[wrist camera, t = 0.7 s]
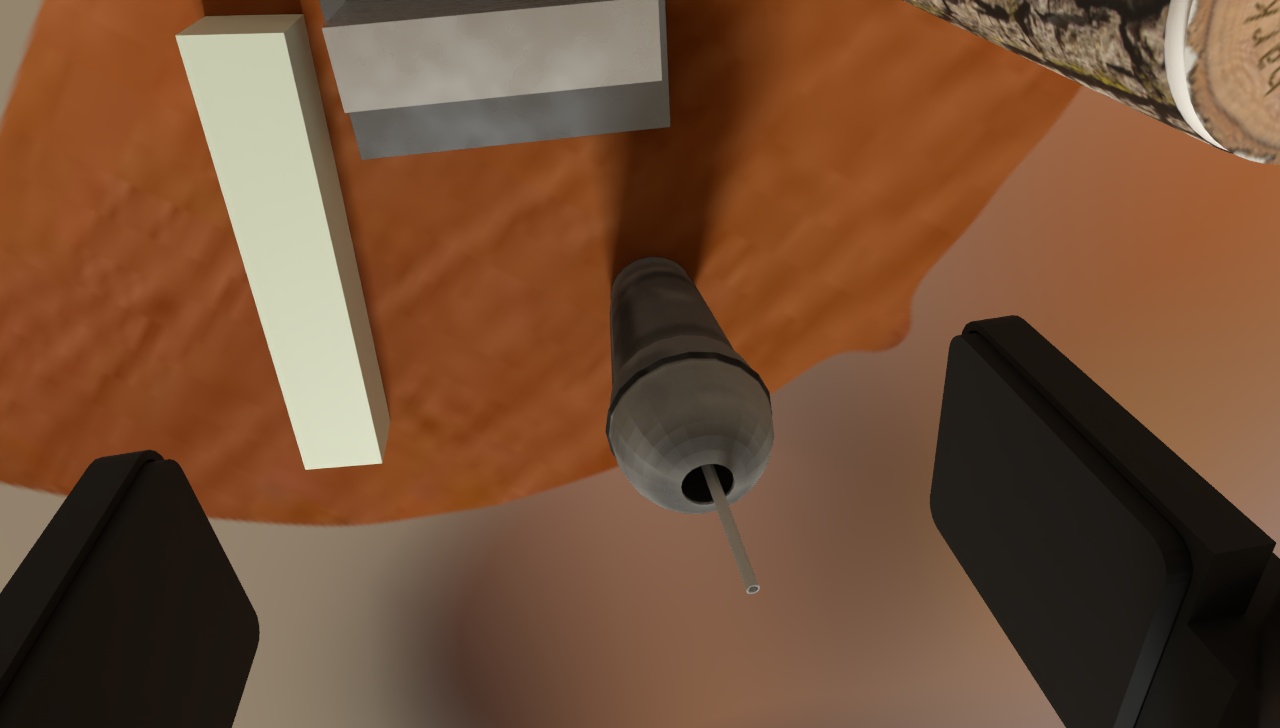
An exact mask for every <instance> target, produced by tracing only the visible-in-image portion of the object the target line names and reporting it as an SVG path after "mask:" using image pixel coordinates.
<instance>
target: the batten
mask: <svg viewBox="0 0 1280 728" xmlns="http://www.w3.org/2000/svg"><path fill="white" fill-rule="evenodd" d="M175 36H176V39H177V43H178V46H179V49H180V53H181V56H182V59H183V63H184V66H185V69H186V73H187V76H188V79H189V83H190V86H191V89H192V93H193V96H194V99H195V103H196V106H197V109H198V113H199V116H200V119H201V123H202V126H203V129H204V133H205V136H206V139H207V143H208V146H209V149H210V153H211V156H212V159H213V163H214V166H215V169H216V173H217V176H218V180H219V183H220V186H221V190H222V193H223V196H224V200H225V203H226V206H227V210H228V213H229V216H230V220H231V223H232V226H233V230H234V233H235V236H236V240H237V243H238V246H239V250H240V253H241V256H242V260H243V263H244V266H245V270H246V273H247V276H248V280H249V283H250V286H251V290H252V293H253V296H254V300H255V303H256V306H257V310H258V313H259V316H260V320H261V323H262V326H263V330H264V333H265V336H266V340H267V343H268V346H269V350H270V353H271V356H272V360H273V363H274V366H275V370H276V373H277V376H278V380H279V383H280V386H281V390H282V393H283V396H284V400H285V403H286V406H287V410H288V413H289V416H290V420H291V423H292V426H293V430H294V433H295V436H296V440H297V443H298V446H299V450H300V453H301V456H302V460H303V463H304V466H305V470H307V469H319V468H331V467H343V466H355V465H367V464H379V463H382V462H383V457H384V452H385V447H386V442H387V436H388V431H389V426H390V417H389V412H388V408H387V403H386V398H385V394H384V389H383V384H382V380H381V375H380V370H379V366H378V361H377V356H376V352H375V347H374V342H373V337H372V333H371V328H370V323H369V319H368V314H367V309H366V305H365V300H364V295H363V291H362V286H361V281H360V277H359V272H358V267H357V263H356V258H355V253H354V248H353V244H352V239H351V234H350V230H349V225H348V220H347V216H346V211H345V206H344V202H343V197H342V192H341V188H340V183H339V178H338V174H337V169H336V164H335V159H334V155H333V150H332V145H331V141H330V136H329V131H328V127H327V122H326V117H325V113H324V108H323V103H322V99H321V94H320V89H319V85H318V80H317V75H316V70H315V66H314V61H313V56H312V52H311V47H310V42H309V38H308V33H307V28H306V24H305V19H304V14H281V15H236V16H204V17H203V18H201V19H200V20H198V21H197V22H195V23H194V24H192V25H191V26H189V27H188V28H186V29H185V30H183V31H182V32H180V33H179V34H177V35H175Z"/></svg>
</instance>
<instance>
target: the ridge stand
mask: <svg viewBox="0 0 1280 728" xmlns="http://www.w3.org/2000/svg"><path fill="white" fill-rule="evenodd" d="M319 1H320V5H321V9H322V13H323V16H324V20H325V25H324V26H323V27H322V31H323V34H324V38H325V42H326V45H327V49H328V53H329V57H330V60H331V64H332V68H333V71H334V75H335V79H336V83H337V86H338V90H339V94H340V97H341V101H342V105H343V109H344V112H345V113H349V114H350V118H351V122H352V125H353V129H354V133H355V137H356V140H357V144H358V148H359V152H360V155H361V159H362V160H363V159H373V158H382V157H392V156H401V155H410V154H420V153H429V152H439V151H448V150H457V149H467V148H476V147H486V146H495V145H504V144H514V143H523V142H533V141H542V140H551V139H561V138H570V137H580V136H589V135H598V134H608V133H617V132H627V131H636V130H645V129H655V128H664V127H670V106H669V82H668V59H667V36H666V12H665V0H319Z"/></svg>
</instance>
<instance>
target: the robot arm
mask: <svg viewBox="0 0 1280 728" xmlns="http://www.w3.org/2000/svg"><path fill="white" fill-rule="evenodd" d="M930 508H931V513H932V517H933V520H934V523H935V525H936V527H937V528H938V530H939V531H940V533H941V535H942V536H943V538H944V539H945V541H946V542H947V544H948V545H949V547H950V549H951V550H952V552H953V553H954V555H955V556H956V558H957V559H958V561H959V563H960V564H961V566H962V567H963V569H964V570H965V572H966V574H967V575H968V577H969V578H970V579H971V581H972V583H973V584H974V586H975V587H976V589H977V590H978V592H979V594H980V595H981V597H982V598H983V600H984V601H985V603H986V604H987V606H988V608H989V609H990V610H991V612H992V614H993V615H994V617H995V618H996V620H997V622H998V623H999V625H1000V626H1001V627H1002V629H1003V631H1004V632H1005V634H1006V635H1007V637H1008V639H1009V640H1010V642H1011V643H1012V645H1013V646H1014V648H1015V649H1016V651H1017V652H1018V654H1019V656H1020V657H1021V659H1022V660H1023V662H1024V663H1025V665H1026V666H1027V668H1028V670H1029V671H1030V672H1031V674H1032V676H1033V677H1034V679H1035V680H1036V682H1037V683H1038V685H1039V686H1040V688H1041V690H1042V691H1043V693H1044V694H1045V696H1046V697H1047V699H1048V700H1049V702H1050V703H1051V705H1052V707H1053V708H1054V710H1055V711H1056V713H1057V714H1058V716H1059V718H1060V719H1061V721H1062V722H1063V723H1064V725H1065V727H1066V728H1280V559H1279V558H1278V557H1277V556H1276V555H1275V554H1274V553H1273V550H1274V547H1275V545H1276V542H1275V541H1274V540H1273V539H1271V538H1270V537H1269V536H1268V535H1267V534H1266V533H1265V532H1263V531H1262V530H1261V529H1260V528H1259V527H1258V526H1257V525H1256V524H1254V523H1253V522H1252V521H1251V520H1250V519H1249V518H1248V517H1247V516H1245V515H1244V514H1243V513H1242V512H1241V511H1240V510H1238V508H1236V507H1235V506H1234V505H1233V504H1232V503H1231V502H1229V501H1228V500H1227V499H1226V498H1225V497H1224V496H1223V495H1222V494H1221V493H1219V492H1218V491H1217V490H1216V489H1215V488H1214V487H1212V485H1210V484H1209V483H1208V482H1207V481H1206V480H1205V479H1204V478H1202V477H1201V476H1200V475H1199V474H1198V473H1197V472H1196V471H1195V470H1193V469H1192V468H1191V467H1190V466H1189V465H1188V464H1187V463H1186V462H1184V461H1183V460H1182V459H1181V458H1180V457H1179V456H1178V455H1176V454H1175V453H1174V452H1173V451H1172V450H1171V449H1170V448H1169V447H1167V446H1166V445H1165V444H1164V443H1163V442H1162V441H1161V440H1159V439H1158V438H1157V437H1156V436H1155V435H1154V434H1153V433H1152V432H1150V431H1149V430H1148V429H1147V428H1146V427H1145V426H1144V425H1143V424H1141V423H1140V422H1139V421H1138V420H1137V419H1136V418H1135V417H1133V416H1132V415H1131V414H1130V413H1129V412H1128V411H1127V410H1125V409H1124V408H1123V407H1122V406H1121V405H1120V404H1119V403H1118V402H1116V401H1115V400H1114V399H1113V398H1112V397H1111V396H1110V395H1109V394H1108V393H1106V392H1105V391H1104V390H1103V389H1102V388H1101V387H1100V386H1098V385H1097V384H1096V383H1095V382H1094V381H1093V380H1092V379H1091V378H1089V377H1088V376H1087V375H1086V374H1085V373H1084V372H1083V371H1082V370H1080V369H1079V368H1078V367H1077V366H1076V365H1075V364H1074V363H1072V362H1071V361H1070V360H1069V359H1068V358H1067V357H1065V355H1063V354H1062V353H1061V352H1060V351H1059V350H1058V349H1057V348H1056V347H1054V346H1053V345H1052V344H1051V343H1050V342H1049V341H1047V340H1046V339H1045V338H1044V337H1043V336H1042V335H1041V334H1039V333H1038V332H1037V331H1036V330H1035V329H1034V328H1033V327H1032V326H1031V325H1029V324H1028V323H1027V322H1026V321H1025V320H1024V319H1022V318H1021V317H1019V316H1013V315H1011V316H1005V317H999V318H993V319H985V320H980V321H973V322H970V323H968V324H966V326H965V327H964V329H963V331H962V335H958V336H955V337H954V338H953V339H952V341H951V343H950V347H949V355H948V362H947V369H946V378H945V386H944V393H943V401H942V409H941V417H940V424H939V432H938V440H937V448H936V455H935V463H934V471H933V479H932V487H931V494H930ZM258 642H259V623H258V618H257V615H256V612H255V610H254V608H253V607H252V605H251V603H250V601H249V599H248V597H247V595H246V593H245V591H244V589H243V587H242V585H241V583H240V581H239V580H238V577H237V575H236V573H235V572H234V569H233V567H232V566H231V564H230V562H229V560H228V558H227V556H226V554H225V552H224V550H223V548H222V546H221V544H220V543H219V540H218V538H217V536H216V534H215V532H214V531H213V529H212V526H211V525H210V523H209V521H208V519H207V517H206V515H205V513H204V511H203V509H202V507H201V505H200V503H199V501H198V499H197V497H196V495H195V493H194V491H193V489H192V487H191V486H190V484H189V482H188V480H187V478H186V476H185V474H184V472H183V470H182V468H181V467H180V465H179V464H178V463H177V462H176V461H174V460H171V459H168V460H164V459H163V457H162V456H161V455H160V454H159V453H157V452H156V451H152V450H145V451H139V452H132V453H126V454H119V455H113V456H107V457H101V458H98V459H95V460H94V461H93V462H92V463H91V464H90V465H89V466H88V468H87V469H86V471H85V472H84V474H83V475H82V477H81V478H80V479H79V481H78V482H77V484H76V485H75V487H74V488H73V490H72V491H71V492H70V494H69V495H68V497H67V498H66V500H65V501H64V503H63V504H62V505H61V507H60V508H59V510H58V511H57V513H56V514H55V515H54V517H53V519H52V520H51V521H50V523H49V524H48V526H47V527H46V529H45V530H44V531H43V533H42V534H41V536H40V537H39V539H38V540H37V542H36V543H35V544H34V546H33V547H32V549H31V550H30V551H29V553H28V554H27V556H26V558H25V559H24V560H23V562H22V563H21V564H20V566H19V567H18V569H17V570H16V572H15V573H14V575H13V576H12V577H11V579H10V580H9V582H8V583H7V585H6V586H5V588H4V589H3V591H2V592H1V593H0V728H232V725H233V722H234V719H235V716H236V713H237V709H238V706H239V703H240V700H241V697H242V694H243V691H244V688H245V684H246V681H247V678H248V675H249V672H250V668H251V666H252V663H253V659H254V656H255V653H256V650H257V646H258Z"/></svg>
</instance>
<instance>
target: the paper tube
mask: <svg viewBox="0 0 1280 728" xmlns="http://www.w3.org/2000/svg"><path fill="white" fill-rule="evenodd" d="M903 1H905V2H907V3H909V4H911V5H914V6H916V7H918V8H920V9H922V10H924V11H926V12H928V13H931V14H933V15H935V16H937V17H939V18H941V19H943V20H946V21H948V22H950V23H952V24H954V25H956V26H958V27H960V28H963V29H965V30H967V31H969V32H971V33H973V34H975V35H977V36H980V37H982V38H984V39H986V40H988V41H990V42H992V43H994V44H997V45H999V46H1001V47H1003V48H1005V49H1007V50H1009V51H1012V52H1014V53H1016V54H1018V55H1020V56H1022V57H1024V58H1026V59H1029V60H1031V61H1033V62H1035V63H1037V64H1039V65H1041V66H1043V67H1046V68H1048V69H1050V70H1052V71H1054V72H1056V73H1058V74H1060V75H1063V76H1065V77H1067V78H1069V79H1071V80H1073V81H1075V82H1078V83H1080V84H1082V85H1084V86H1086V87H1088V88H1090V89H1092V90H1095V91H1097V92H1099V93H1101V94H1103V95H1105V96H1107V97H1109V98H1112V99H1114V100H1116V101H1118V102H1120V103H1122V104H1124V105H1126V106H1129V107H1131V108H1133V109H1135V110H1137V111H1139V112H1141V113H1144V114H1146V115H1148V116H1150V117H1152V118H1154V119H1156V120H1159V121H1161V122H1163V123H1165V124H1167V125H1169V126H1171V127H1173V128H1175V129H1178V130H1180V131H1182V132H1184V133H1186V134H1188V135H1190V136H1192V137H1195V138H1197V139H1199V140H1201V141H1203V142H1205V143H1207V144H1210V145H1212V146H1214V147H1216V148H1218V149H1221V150H1224V151H1226V152H1229V153H1232V154H1235V155H1237V156H1240V157H1243V158H1245V159H1248V160H1251V161H1255V162H1260V163H1265V164H1275V165H1280V0H903Z"/></svg>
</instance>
